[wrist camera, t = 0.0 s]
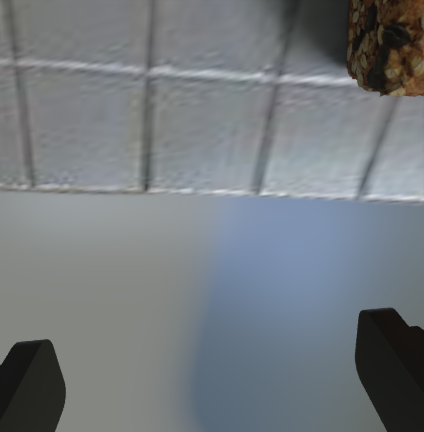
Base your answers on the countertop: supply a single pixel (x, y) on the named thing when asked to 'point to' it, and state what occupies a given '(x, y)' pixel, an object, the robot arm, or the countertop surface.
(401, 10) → the bread
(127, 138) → the countertop surface
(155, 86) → the countertop surface
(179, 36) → the countertop surface
